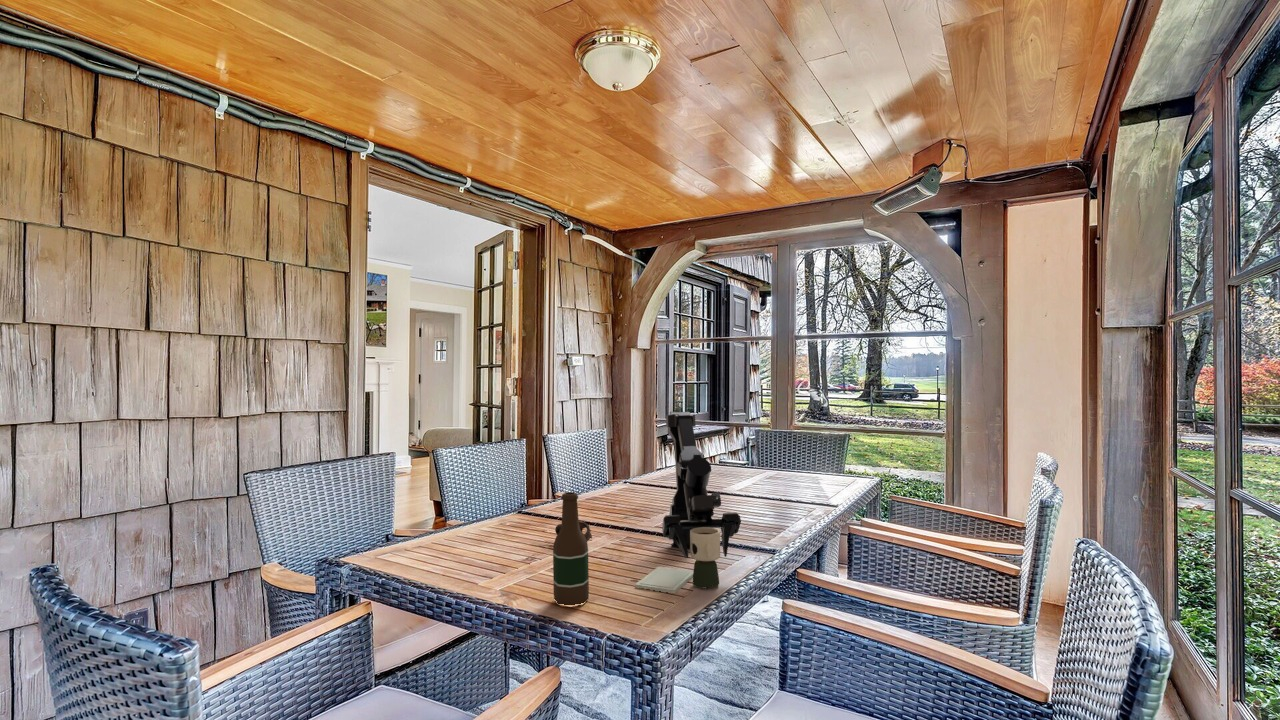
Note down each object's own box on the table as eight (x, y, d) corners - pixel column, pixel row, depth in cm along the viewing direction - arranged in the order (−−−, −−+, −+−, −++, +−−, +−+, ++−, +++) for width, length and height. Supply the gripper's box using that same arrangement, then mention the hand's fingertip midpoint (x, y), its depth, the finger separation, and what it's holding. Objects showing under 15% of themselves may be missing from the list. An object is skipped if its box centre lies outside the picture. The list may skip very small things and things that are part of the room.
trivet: (635, 587, 140) (635, 583, 140) (658, 569, 152) (658, 565, 152) (674, 593, 135) (674, 589, 135) (695, 574, 148) (695, 570, 148)
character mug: (688, 578, 145) (687, 525, 146) (717, 577, 146) (715, 524, 146) (694, 595, 134) (692, 537, 135) (725, 594, 135) (724, 536, 135)
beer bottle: (554, 595, 135) (553, 490, 136) (588, 594, 136) (587, 489, 137) (552, 609, 128) (551, 497, 128) (588, 607, 128) (587, 496, 129)
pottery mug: (596, 543, 180) (597, 522, 176) (583, 565, 172) (583, 544, 168) (561, 530, 183) (561, 510, 179) (546, 551, 175) (546, 531, 171)
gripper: (662, 482, 144) (669, 540, 133) (738, 479, 145) (751, 537, 134) (659, 507, 151) (665, 564, 140) (731, 505, 153) (743, 561, 142)
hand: (706, 556), depth 139 cm, fingers open, 9 cm apart
